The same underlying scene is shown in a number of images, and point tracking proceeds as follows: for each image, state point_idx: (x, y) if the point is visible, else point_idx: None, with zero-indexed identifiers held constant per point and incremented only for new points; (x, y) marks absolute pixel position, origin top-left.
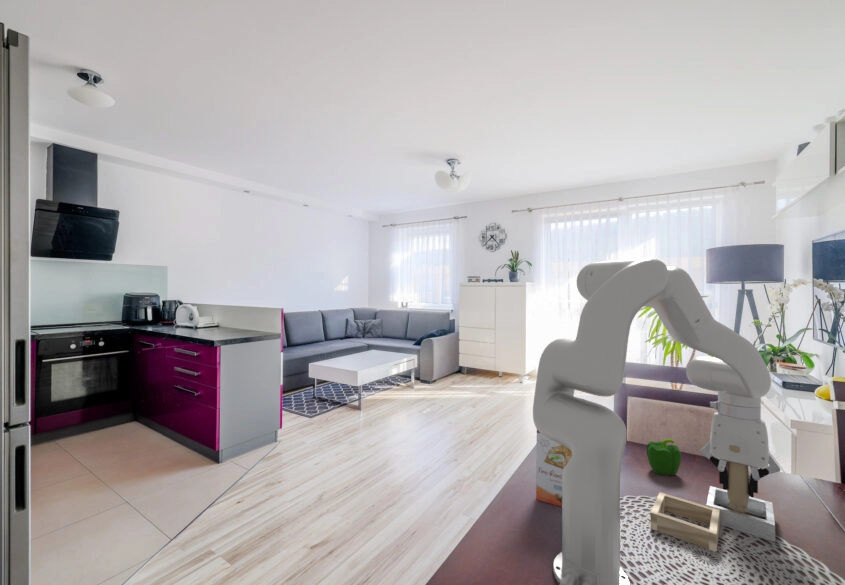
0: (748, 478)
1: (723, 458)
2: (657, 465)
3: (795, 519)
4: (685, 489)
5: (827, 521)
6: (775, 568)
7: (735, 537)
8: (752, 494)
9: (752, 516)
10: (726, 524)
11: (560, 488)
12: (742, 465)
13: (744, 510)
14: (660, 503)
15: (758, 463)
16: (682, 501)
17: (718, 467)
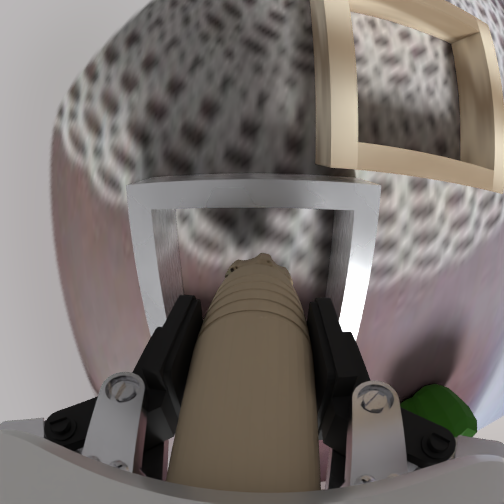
0: (184, 392)
1: (423, 488)
2: (450, 395)
3: (136, 360)
4: (390, 357)
5: (98, 379)
6: (164, 19)
7: (264, 111)
8: (180, 301)
9: (199, 202)
10: (294, 174)
11: None
12: (195, 476)
13: (233, 263)
14: (493, 95)
15: (11, 471)
16: (452, 160)
17: (394, 400)
